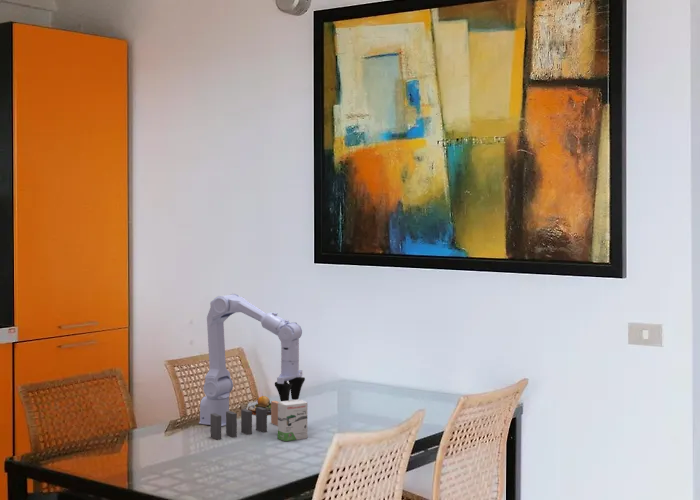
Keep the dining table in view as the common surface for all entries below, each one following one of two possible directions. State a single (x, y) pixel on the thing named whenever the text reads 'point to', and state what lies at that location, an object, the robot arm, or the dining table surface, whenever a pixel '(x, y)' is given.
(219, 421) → the tile
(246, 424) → the tile
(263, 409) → the tile
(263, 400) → the burger
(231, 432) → the tile
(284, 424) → the ink box
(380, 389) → the dining table surface
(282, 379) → the robot arm
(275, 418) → the tile
